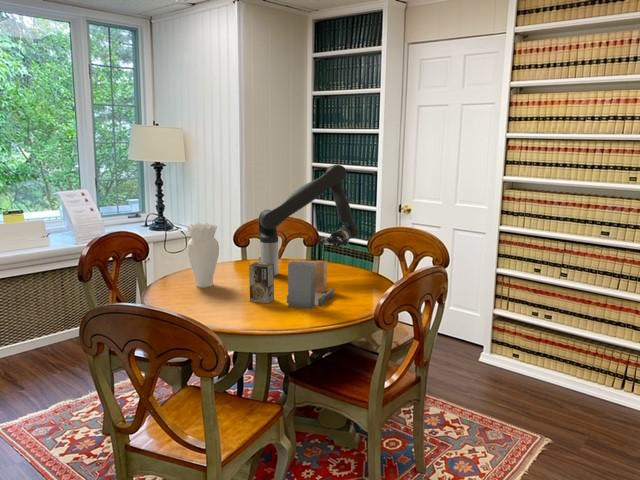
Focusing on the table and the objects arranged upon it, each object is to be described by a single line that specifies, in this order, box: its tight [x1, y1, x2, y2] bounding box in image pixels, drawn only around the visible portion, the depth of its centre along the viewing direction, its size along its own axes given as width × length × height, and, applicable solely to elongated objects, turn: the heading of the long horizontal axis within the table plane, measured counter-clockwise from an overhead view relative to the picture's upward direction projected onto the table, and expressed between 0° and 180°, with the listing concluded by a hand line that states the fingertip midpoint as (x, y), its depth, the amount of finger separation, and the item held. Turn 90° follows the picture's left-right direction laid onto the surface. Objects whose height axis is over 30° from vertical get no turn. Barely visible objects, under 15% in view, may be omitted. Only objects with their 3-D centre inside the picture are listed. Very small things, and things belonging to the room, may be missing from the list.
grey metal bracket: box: [286, 260, 335, 310], centre depth 231 cm, size 15×23×18 cm
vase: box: [186, 222, 220, 288], centre depth 253 cm, size 15×15×29 cm
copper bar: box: [315, 260, 328, 293], centre depth 245 cm, size 4×4×14 cm
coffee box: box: [248, 261, 275, 304], centre depth 231 cm, size 9×6×16 cm
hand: (328, 244), depth 253 cm, fingers open, 8 cm apart
